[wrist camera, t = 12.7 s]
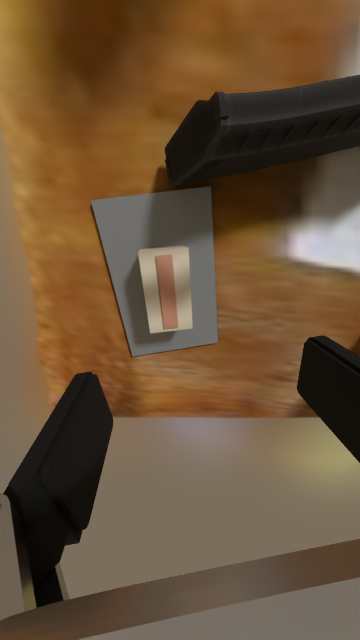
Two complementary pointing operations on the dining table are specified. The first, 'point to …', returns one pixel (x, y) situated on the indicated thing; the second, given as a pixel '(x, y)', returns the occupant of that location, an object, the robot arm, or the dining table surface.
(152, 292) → the card box
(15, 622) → the robot arm
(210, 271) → the mat
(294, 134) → the magazine
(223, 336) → the dining table surface
